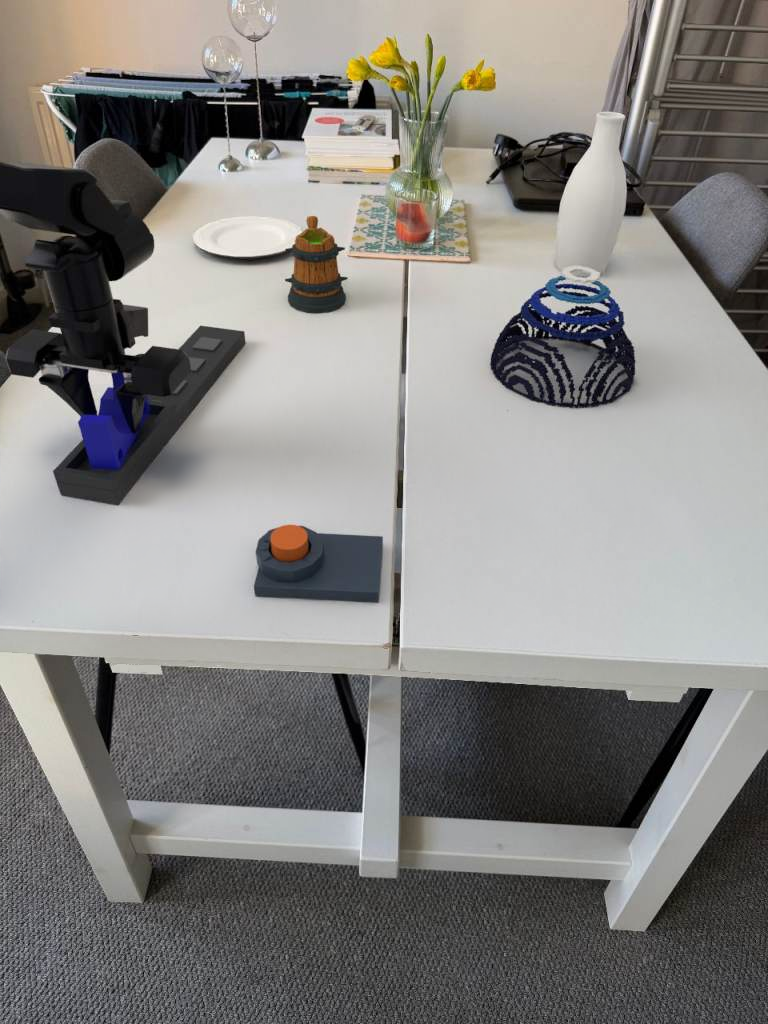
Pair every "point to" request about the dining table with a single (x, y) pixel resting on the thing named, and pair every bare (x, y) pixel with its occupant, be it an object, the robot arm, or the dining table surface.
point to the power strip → (153, 421)
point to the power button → (289, 543)
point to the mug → (315, 271)
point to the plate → (246, 237)
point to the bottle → (593, 201)
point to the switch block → (323, 569)
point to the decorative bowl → (586, 338)
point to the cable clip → (109, 430)
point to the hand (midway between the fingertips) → (115, 428)
